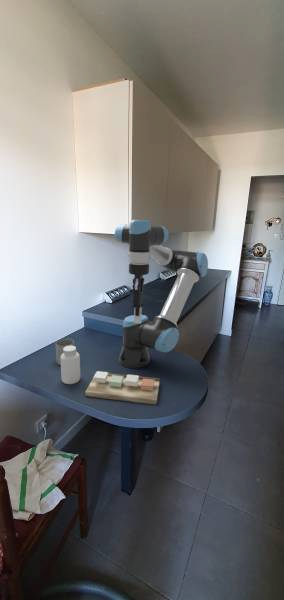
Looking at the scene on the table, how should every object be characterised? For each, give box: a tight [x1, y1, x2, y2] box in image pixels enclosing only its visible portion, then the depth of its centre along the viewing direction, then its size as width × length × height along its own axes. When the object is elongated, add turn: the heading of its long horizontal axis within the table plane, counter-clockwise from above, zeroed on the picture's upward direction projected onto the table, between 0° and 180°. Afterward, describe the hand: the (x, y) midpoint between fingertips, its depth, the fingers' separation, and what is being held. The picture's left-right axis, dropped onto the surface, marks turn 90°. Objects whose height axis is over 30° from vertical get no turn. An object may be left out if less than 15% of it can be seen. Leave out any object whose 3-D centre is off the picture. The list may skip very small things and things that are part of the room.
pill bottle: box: [60, 345, 81, 385], centre depth 117 cm, size 8×8×15 cm
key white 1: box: [92, 370, 109, 383], centre depth 113 cm, size 5×5×2 cm
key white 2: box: [125, 374, 140, 386], centre depth 111 cm, size 5×5×2 cm
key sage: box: [109, 375, 123, 387], centre depth 113 cm, size 5×5×2 cm
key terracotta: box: [141, 379, 154, 391], centre depth 111 cm, size 5×5×2 cm
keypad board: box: [84, 372, 161, 405], centre depth 113 cm, size 14×28×3 cm, turn 82°
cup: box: [55, 338, 75, 366], centre depth 133 cm, size 8×8×10 cm
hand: (137, 322), depth 109 cm, fingers closed
